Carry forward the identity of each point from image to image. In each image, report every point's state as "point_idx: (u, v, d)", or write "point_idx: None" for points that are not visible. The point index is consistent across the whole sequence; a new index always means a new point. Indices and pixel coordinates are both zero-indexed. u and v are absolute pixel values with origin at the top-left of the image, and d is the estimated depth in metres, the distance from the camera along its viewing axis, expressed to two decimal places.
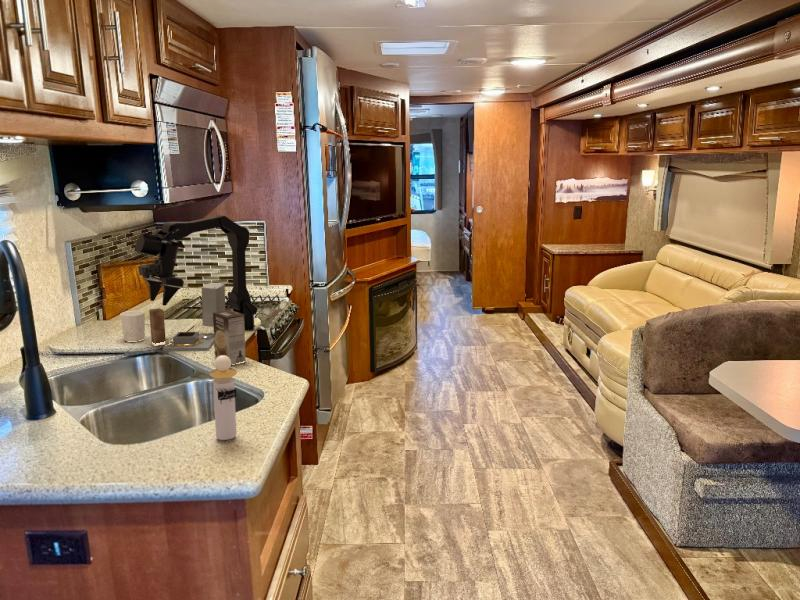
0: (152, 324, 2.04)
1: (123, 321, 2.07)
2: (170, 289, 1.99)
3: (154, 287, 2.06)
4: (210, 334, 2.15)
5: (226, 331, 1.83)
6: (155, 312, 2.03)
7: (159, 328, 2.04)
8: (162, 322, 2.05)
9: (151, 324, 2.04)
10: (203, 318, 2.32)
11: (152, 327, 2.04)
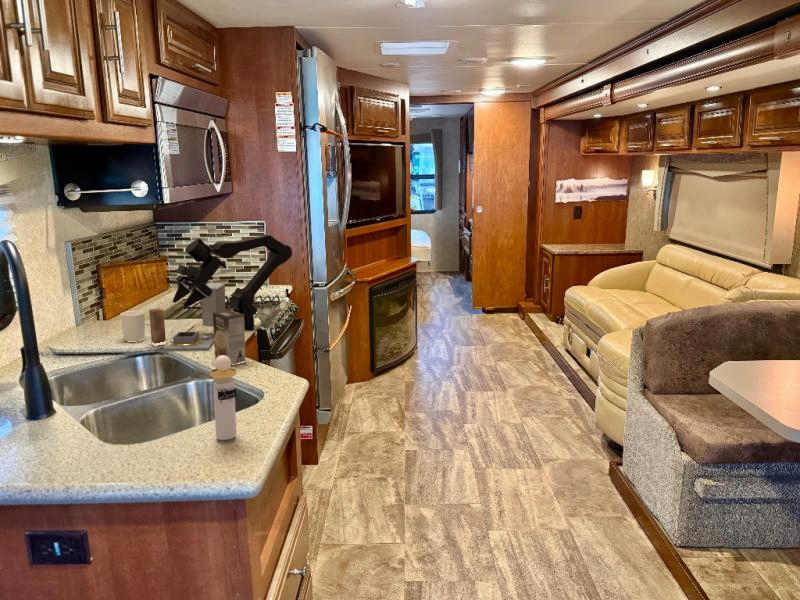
0: (152, 324, 2.04)
1: (123, 321, 2.07)
2: (197, 295, 2.07)
3: (181, 291, 2.14)
4: (210, 334, 2.15)
5: (226, 331, 1.83)
6: (155, 312, 2.03)
7: (159, 328, 2.04)
8: (162, 322, 2.05)
9: (151, 324, 2.04)
10: (203, 318, 2.32)
11: (152, 327, 2.04)
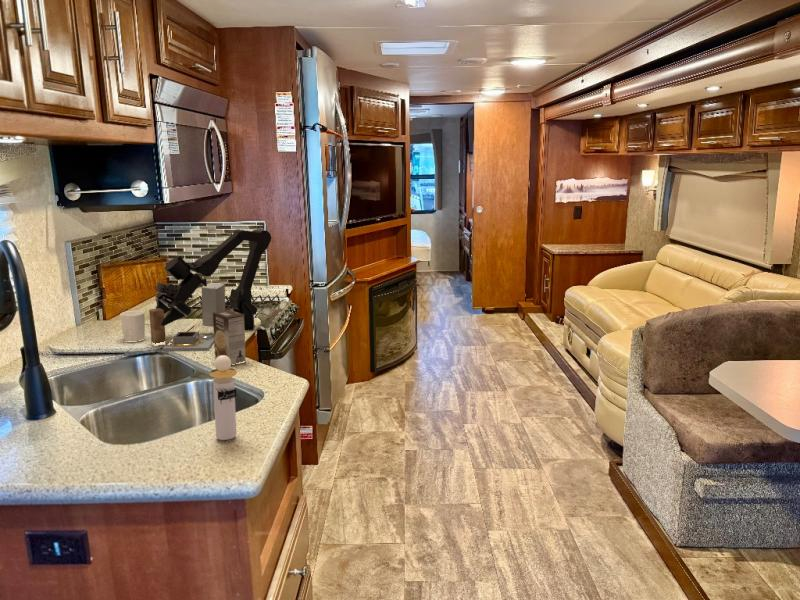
0: (152, 324, 2.04)
1: (123, 321, 2.07)
2: (175, 313, 2.03)
3: None
4: (210, 334, 2.15)
5: (226, 331, 1.83)
6: (155, 312, 2.03)
7: (159, 328, 2.04)
8: None
9: (151, 324, 2.04)
10: (203, 318, 2.32)
11: (152, 327, 2.04)
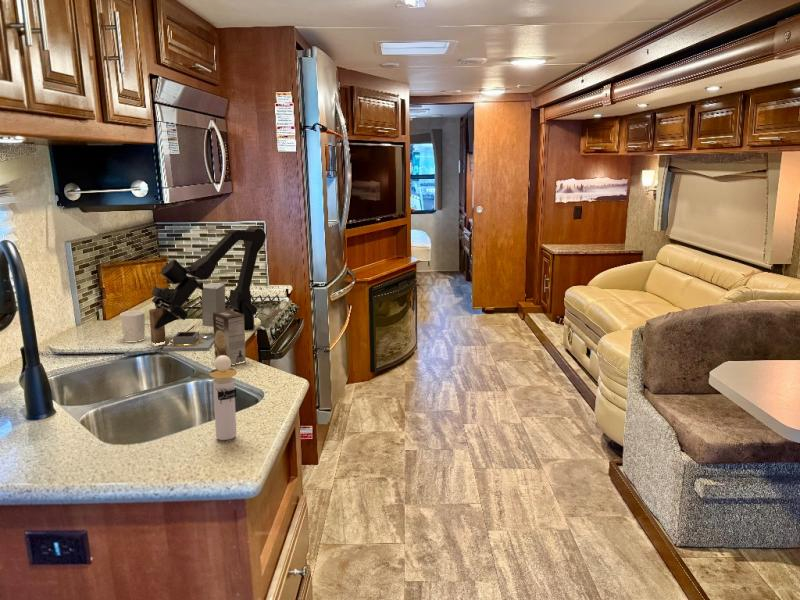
0: (152, 324, 2.04)
1: (123, 321, 2.07)
2: (169, 316, 2.05)
3: None
4: (210, 334, 2.15)
5: (226, 331, 1.83)
6: (155, 312, 2.03)
7: (159, 328, 2.04)
8: None
9: (151, 324, 2.04)
10: (203, 318, 2.32)
11: (152, 327, 2.04)
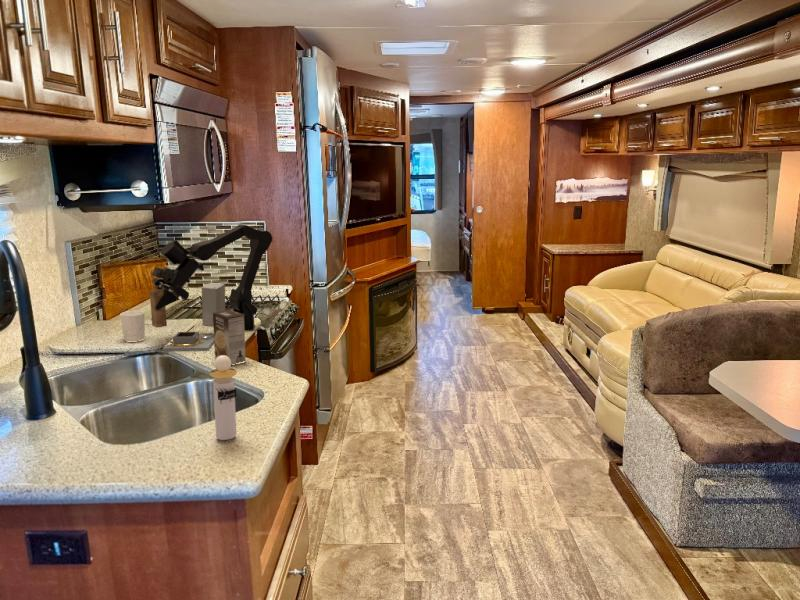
0: (153, 305, 2.02)
1: (123, 321, 2.07)
2: (169, 297, 2.03)
3: None
4: (210, 334, 2.15)
5: (226, 331, 1.83)
6: (156, 293, 2.01)
7: (160, 309, 2.03)
8: None
9: (152, 305, 2.03)
10: (203, 318, 2.32)
11: (153, 308, 2.03)
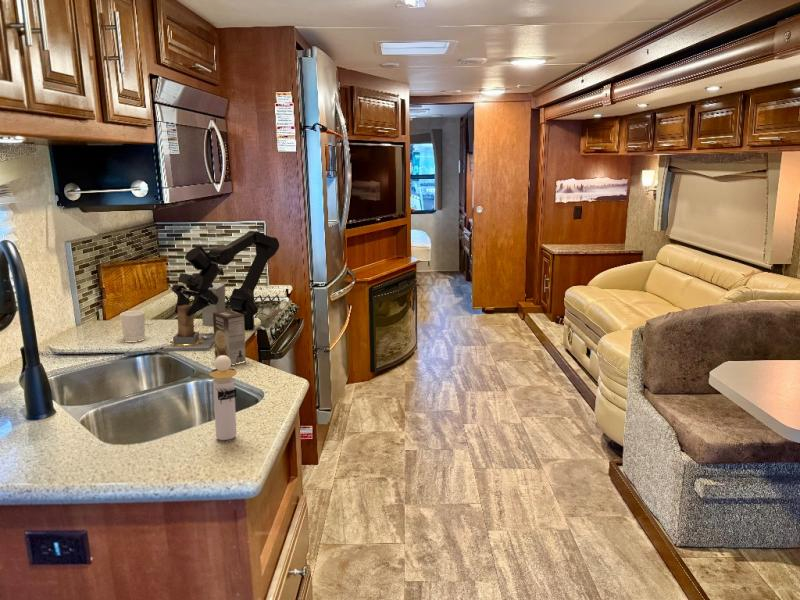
0: (182, 321, 2.02)
1: (123, 321, 2.07)
2: (199, 303, 2.03)
3: (182, 301, 2.06)
4: (210, 334, 2.15)
5: (226, 331, 1.83)
6: (186, 308, 2.01)
7: (189, 325, 2.04)
8: (191, 318, 2.04)
9: (181, 321, 2.03)
10: (203, 318, 2.32)
11: (181, 324, 2.03)
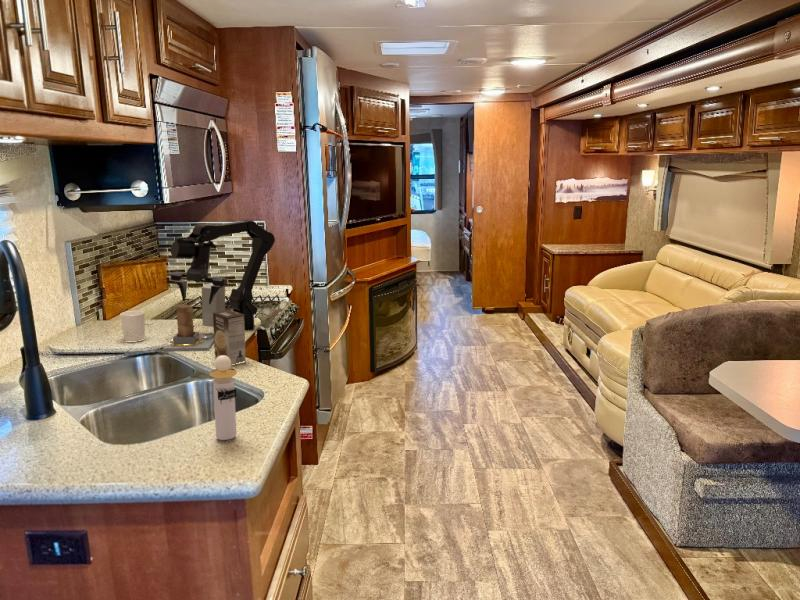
0: (181, 321, 2.02)
1: (123, 321, 2.07)
2: None
3: (184, 288, 2.12)
4: (210, 334, 2.15)
5: (226, 331, 1.83)
6: (185, 308, 2.02)
7: (188, 325, 2.04)
8: (191, 318, 2.04)
9: (180, 321, 2.03)
10: (203, 318, 2.32)
11: (181, 324, 2.03)
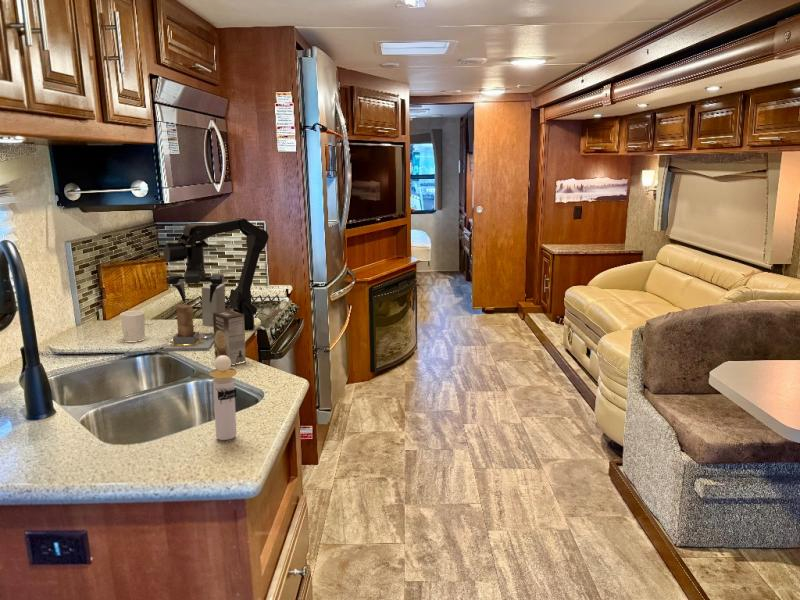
0: (181, 321, 2.02)
1: (123, 321, 2.07)
2: None
3: (183, 289, 2.13)
4: (210, 334, 2.15)
5: (226, 330, 1.83)
6: (185, 308, 2.02)
7: (188, 325, 2.04)
8: (191, 318, 2.04)
9: (180, 321, 2.03)
10: (203, 318, 2.32)
11: (181, 324, 2.03)
